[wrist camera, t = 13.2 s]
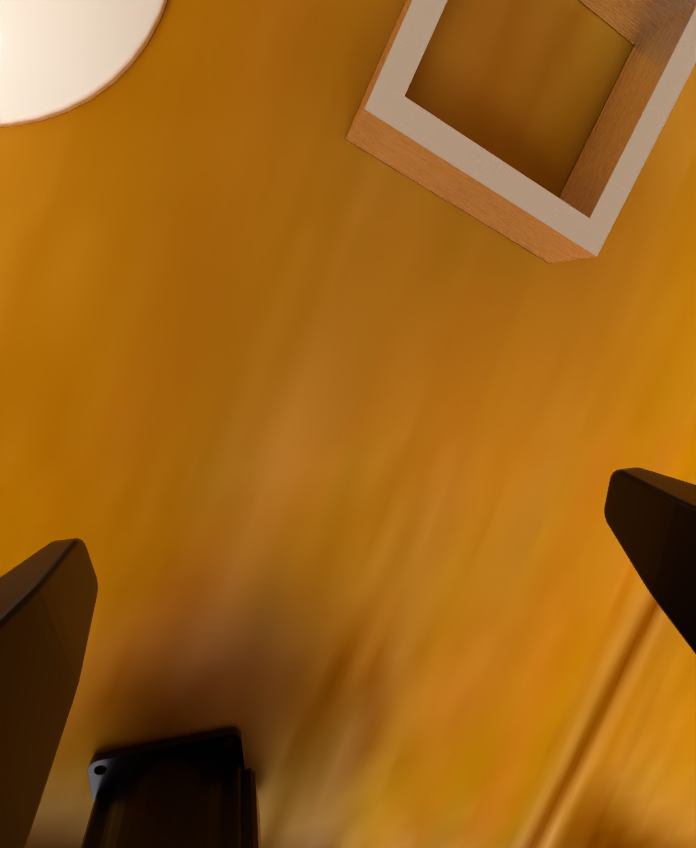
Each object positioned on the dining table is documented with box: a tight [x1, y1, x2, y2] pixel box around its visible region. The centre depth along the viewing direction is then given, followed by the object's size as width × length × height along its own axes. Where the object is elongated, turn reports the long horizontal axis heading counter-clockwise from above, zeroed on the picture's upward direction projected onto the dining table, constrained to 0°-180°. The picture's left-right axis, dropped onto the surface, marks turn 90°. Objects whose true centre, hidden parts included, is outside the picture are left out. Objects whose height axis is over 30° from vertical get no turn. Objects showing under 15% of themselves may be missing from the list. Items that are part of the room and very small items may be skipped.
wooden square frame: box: [345, 0, 696, 263], centre depth 19 cm, size 10×10×3 cm
